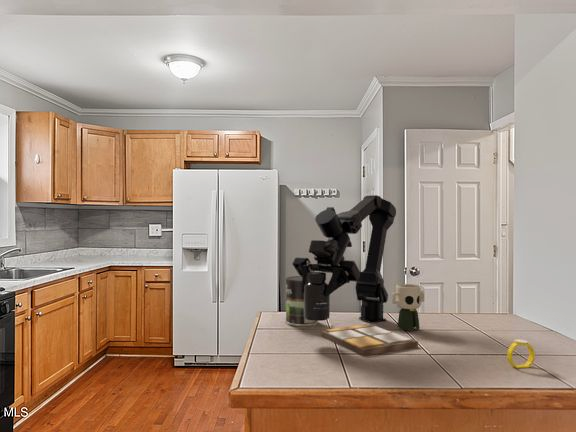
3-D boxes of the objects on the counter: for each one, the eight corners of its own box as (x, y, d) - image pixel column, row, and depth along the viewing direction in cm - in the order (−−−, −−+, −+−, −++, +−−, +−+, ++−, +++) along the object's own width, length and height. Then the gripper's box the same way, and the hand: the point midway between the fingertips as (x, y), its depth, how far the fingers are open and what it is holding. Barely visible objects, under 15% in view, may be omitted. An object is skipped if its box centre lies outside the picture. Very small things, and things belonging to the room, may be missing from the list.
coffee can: (287, 327, 137) (287, 280, 138) (284, 319, 148) (284, 276, 148) (321, 326, 139) (321, 280, 139) (315, 318, 149) (315, 275, 149)
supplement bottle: (321, 322, 115) (320, 275, 115) (298, 319, 119) (298, 273, 119) (334, 317, 120) (334, 272, 120) (313, 314, 124) (312, 270, 124)
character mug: (399, 334, 129) (399, 288, 129) (386, 328, 135) (385, 285, 135) (431, 331, 132) (431, 286, 132) (417, 325, 139) (416, 283, 139)
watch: (527, 365, 102) (529, 339, 102) (536, 369, 100) (538, 342, 100) (504, 365, 101) (505, 338, 101) (512, 369, 98) (514, 342, 99)
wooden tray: (371, 329, 134) (371, 323, 134) (418, 347, 116) (417, 339, 116) (321, 336, 127) (321, 329, 127) (362, 355, 109) (362, 348, 109)
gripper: (295, 228, 128) (272, 272, 119) (355, 229, 117) (334, 277, 108) (311, 254, 134) (289, 297, 126) (368, 257, 124) (349, 304, 115)
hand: (314, 293), depth 118 cm, fingers closed on supplement bottle, 7 cm apart
